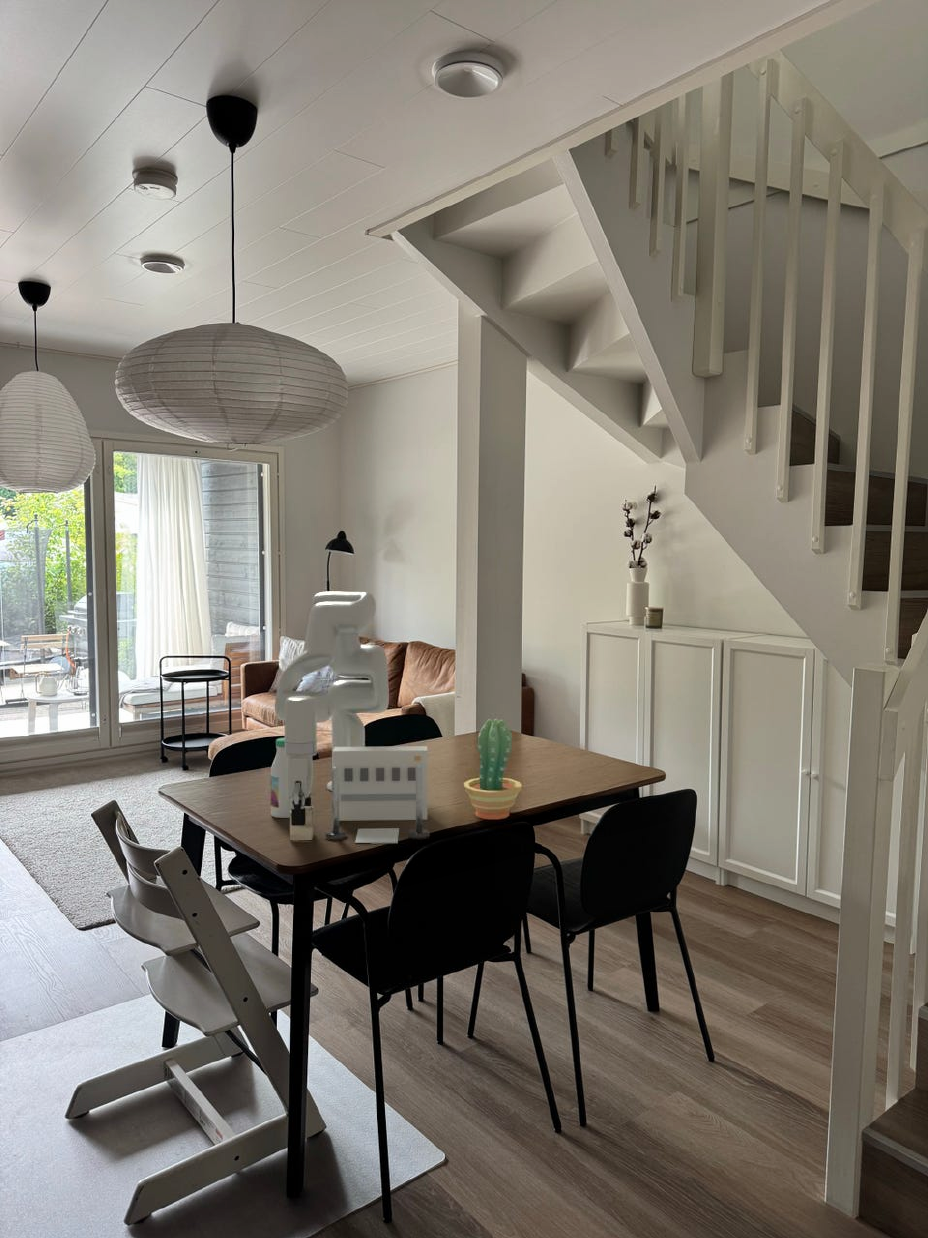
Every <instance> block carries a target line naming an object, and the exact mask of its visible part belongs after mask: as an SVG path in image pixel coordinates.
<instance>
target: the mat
mask: <svg viewBox="0 0 928 1238" xmlns="http://www.w3.org/2000/svg"><path fill="white" fill-rule="evenodd" d="M399 834H400V827H398V828H397V827H396V828H395V827H394V828H391V827H390V828H389V827H388V828H382V827H381V828H378V827H377V828H358V829H357V833H356V836H355V841H354V844H355V843H371V844H373V845H374V844H398V842H399V836H400V835H399ZM371 844H370V845H371Z"/></svg>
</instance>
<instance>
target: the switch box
mask: <svg viewBox="0 0 928 1238" xmlns="http://www.w3.org/2000/svg"><path fill="white" fill-rule="evenodd" d="M416 766H422V821H423V820H425V821H427V820H428V819H429V818H428V817H429V816H428V810H429V809H428V745H421V746H420V745H417V746H416V745H415V746H414V745H411V746H410V745H404V746H403V745H401V746H400V745H399V746H398V745H396V746H394V745H393V746H389V745H388V746H365V747H335V748H334V750H333V767H339V822H341V821H342V822H343V821H344V822H345V821H348V822H349V821H352V822H353V821H416Z"/></svg>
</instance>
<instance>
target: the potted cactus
mask: <svg viewBox="0 0 928 1238" xmlns="http://www.w3.org/2000/svg"><path fill="white" fill-rule="evenodd" d="M512 739H513V734H512V732H511V731H510V729H509V727H508V726H507V723H505V721H504V720H503V719H498V718H494V719H491V718H488V719H487V720H486V722H485V723H484V724H483V726H482V727H481V729H480V731H479V733H478V735H477V746H478V747H477V748H478V750H477V751H478V754H479V755H478V756H479V760H480V766H479V767H480V769H479V777H477V778H472V779H468V780H466V781H465V782H463V786H464V787H463V788H464V791H465V793H466V794H467V795H468V797H469V801H470V804H471V805H472V806H473V808H474V809H475V816H476V817H478V818H480V819H485V820H501V819H502V820H503V819H507V818H508V817H510V812H509V811H510V810H511V809H512V807H513V806H514V805H515V803H516V801H517V797H518V795H519V794H520V793H521V791H522V786H523V785H522V783H521V782H520V781H518V780H515V779H512V778H509V777H507V778H506V777H504V774H505V771H506V765H507V760H508V758H509V756H510V753H511V751H512V743H513V742H512V741H513V740H512Z"/></svg>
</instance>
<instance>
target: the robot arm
mask: <svg viewBox="0 0 928 1238" xmlns="http://www.w3.org/2000/svg"><path fill="white" fill-rule="evenodd" d="M375 599H376V598H375V597H374V596H373V594H372V593H370V592H367V591H342V590H340V591H336V590H335V591H331V590H330V591H321V592H318V593H316V594H315V595H313V596H312V599H311V600H312V601H311V604H312V605H311V606H312V607H311V610H310V612H309V617H308V622H307V623H308V624H307V628H306V634H305V640H304V644H303V649H302V652H301V653H300V654H299V655H298V656H297V657H295V659H293V660H292V661H291V662H290V663H289V665H288V666H286V668H285V669H284V671H283V672H282V674H281V676H280V678H279V680H278V684H277V690H276V694H275V699H274V700H275V701H274V711H275V715H276V717H277V718H278V719H279V720H281V721H284V738H285V756H287V757H289V759H288V774H287V798H288V799H290V798H291V797H292V796H293V798H292V808H291V825H292V826H304V825H305V823H306V822H305V808H304V806H312V796H311V795H312V794H311V792H312V789H313V775H314V774H313V772H314V771H313V770H314V769H313V759H314V758H313V757H315V756H316V755H317V754H318V728H317V727H318V723H324V722H326V721H328V720H329V719H331V763H332V764H331V765H332V766H331V768H332V767H333V750H334V748H335V747H366V743H365V741H366V738H365V737H366V733H365V732H366V730H365V725H364V723H363V721H362V719H361V718H360V716H359V714H381V713H383V712H385V711H387V709H388V707H389V701H390V694H389V693H390V690H389V689H390V688H389V673H388V672H389V671H388V658H387V654H386V651H385V649H384V647H382V646H381V645H377V644H362V643H361V642H360V634H361V633H363V632H364V631H365V630H366V628H368V626H369V625H370V624H371V622H372V621H373V620H374V617H375V615H376V610H377V603H376V600H375ZM329 666H331V671H332V673H333V674H334V675H335V676H337V677H340V678H359V679H339V680H336V681H334V682H333V683H331V684H330V685H329V688H328V691H327V692H325V691H311V690H310V691H309V690H293V689H294V687H295V685H296V684H297V683H298V682H299V681H300V680H301V679H303V678H304V677H306V676H307V675H311V674H312V673H315V672H317V671H319V670H321V669H324V668H326V667H329ZM360 678H364V679H360ZM367 679H368V680H367ZM326 788H327V790H328V791H331V792H332V780H330V781H329V782H327V783H326Z"/></svg>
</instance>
